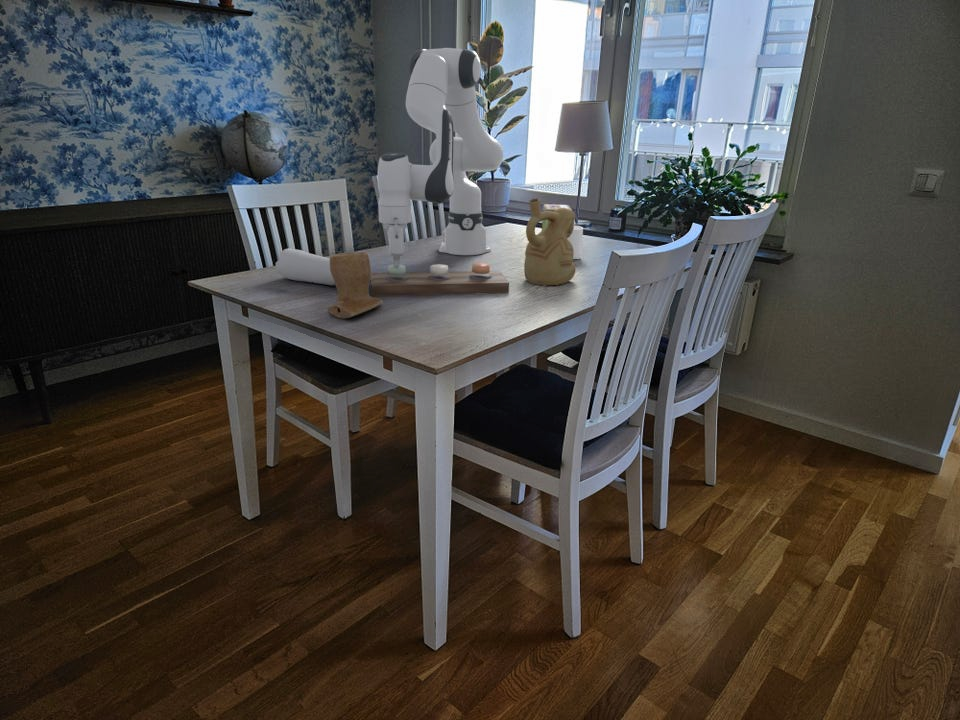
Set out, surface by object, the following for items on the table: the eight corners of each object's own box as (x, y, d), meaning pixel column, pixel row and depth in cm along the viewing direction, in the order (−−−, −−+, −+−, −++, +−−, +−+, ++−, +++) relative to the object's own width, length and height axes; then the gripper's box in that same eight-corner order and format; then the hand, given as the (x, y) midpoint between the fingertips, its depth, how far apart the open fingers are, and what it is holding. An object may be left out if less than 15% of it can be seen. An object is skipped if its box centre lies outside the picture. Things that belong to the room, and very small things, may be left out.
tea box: (569, 250, 233) (572, 209, 227) (542, 249, 233) (545, 208, 227) (565, 242, 247) (568, 203, 241) (540, 241, 247) (542, 203, 241)
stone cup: (351, 300, 167) (348, 244, 161) (389, 307, 162) (386, 249, 156) (314, 315, 154) (308, 255, 148) (353, 323, 149) (349, 261, 144)
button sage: (387, 271, 178) (387, 264, 178) (405, 271, 179) (405, 264, 178) (388, 275, 174) (387, 268, 173) (406, 275, 174) (406, 268, 174)
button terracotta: (470, 269, 182) (471, 263, 181) (487, 269, 183) (488, 262, 182) (473, 274, 177) (473, 267, 177) (490, 273, 178) (491, 266, 177)
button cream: (429, 271, 180) (429, 264, 179) (447, 270, 181) (447, 264, 180) (431, 275, 176) (431, 268, 175) (448, 275, 176) (449, 268, 176)
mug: (549, 260, 215) (551, 229, 211) (560, 254, 225) (562, 224, 221) (572, 263, 212) (575, 232, 208) (583, 257, 222) (586, 226, 218)
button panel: (372, 283, 183) (372, 272, 182) (499, 280, 189) (499, 269, 188) (372, 296, 171) (371, 284, 169) (508, 292, 176) (509, 281, 175)
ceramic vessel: (588, 281, 190) (595, 197, 181) (545, 292, 178) (551, 202, 168) (546, 271, 202) (551, 191, 192) (503, 280, 189) (506, 196, 180)
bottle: (269, 271, 181) (353, 288, 169) (279, 242, 182) (363, 257, 170) (288, 282, 189) (370, 299, 177) (298, 254, 190) (380, 270, 178)
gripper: (408, 221, 161) (409, 274, 166) (404, 210, 180) (405, 257, 185) (384, 221, 160) (385, 274, 165) (382, 210, 179) (384, 257, 184)
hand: (396, 265), depth 175 cm, fingers closed
